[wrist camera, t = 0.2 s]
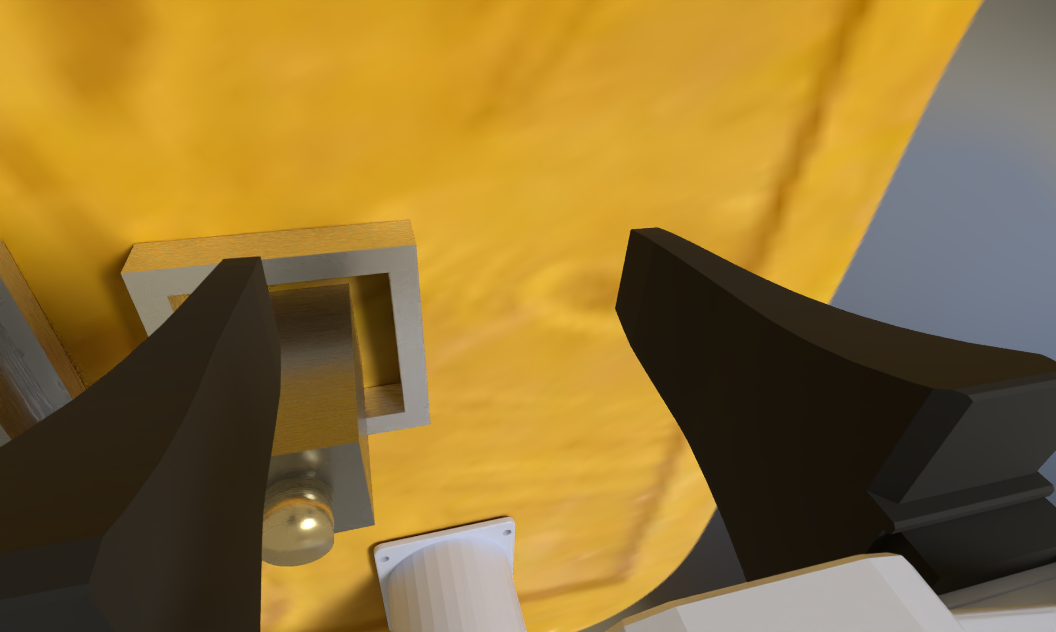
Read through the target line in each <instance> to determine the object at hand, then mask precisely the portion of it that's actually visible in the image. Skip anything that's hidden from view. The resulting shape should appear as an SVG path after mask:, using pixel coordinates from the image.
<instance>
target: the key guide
mask: <svg viewBox="0 0 1056 632" xmlns="http://www.w3.org/2000/svg"><path fill="white" fill-rule="evenodd" d="M85 390H86V388H85V386H84V385H83V383H82V381H81V379H80V378H79V376H78V374H77V372H76V370H75V369H74V367H73V365H72V363H71V362H70V360H69V358H68V356H67V354H66V353H65V351H64V349H63V347H62V346H61V344H60V342H59V340H58V338H57V337H56V335H55V333H54V331H53V329H52V328H51V326H50V324H49V322H48V321H47V319H46V317H45V315H44V313H43V312H42V310H41V308H40V306H39V305H38V303H37V301H36V299H35V297H34V296H33V294H32V292H31V290H30V289H29V287H28V285H27V283H26V281H25V280H24V278H23V276H22V274H21V273H20V271H19V269H18V267H17V265H16V264H15V262H14V260H13V258H12V257H11V255H10V253H9V251H8V249H7V248H6V246H5V244H4V242H3V241H0V447H1V446H3V445H4V444H6V443H7V442H9V441H11V440H12V439H14V438H15V437H17V436H18V435H20V434H21V433H23V432H24V431H26V430H27V429H29V428H31V427H32V426H34V425H35V424H37V423H38V422H40V421H41V420H43V419H44V418H46V417H47V416H49V415H50V414H52V413H54V412H55V411H57V410H58V409H60V408H61V407H63V406H64V405H66V404H67V403H68V402H70V401H71V400H73V399H74V398H76V397H77V396H78V395H80V394H81V393H82V392H83V391H85Z"/></svg>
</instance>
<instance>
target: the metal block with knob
mask: <svg viewBox="0 0 1056 632" xmlns="http://www.w3.org/2000/svg"><path fill="white" fill-rule="evenodd" d="M269 295H270V300H271V304H272V309H273V313H274V317H275V322H276V326H277V330H278V335H279V339H280V344H281V391H280V399H279V406H278V413H277V420H276V427H275V433H274V440H273V447H272V453H271V460H270V467H269V473H268V480H267V487H266V493H265V503H264V513H263V535H262V560H263V561H265V562H267V563H269V564H272V565H277V566H298V565H303V564H307V563H310V562H313V561H315V560H318V559H319V558H321V557H323V556H324V555H325V554H327V553H328V552H329V551H330V549H331V548H332V546H333V543H334V533H338V532H343V531H348V530H353V529H358V528H362V527H367V526H372V525H375V521H374V508H373V496H372V484H371V471H370V459H369V446H368V434H367V421H366V409H365V396H364V384H363V372H362V361H361V355H360V349H359V343H358V336H357V330H356V324H355V318H354V312H353V306H352V300H351V294H350V288H349V284H340V285H331V286H322V287H313V288H304V289H294V290H285V291H276V292H269Z"/></svg>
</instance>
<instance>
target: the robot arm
mask: <svg viewBox="0 0 1056 632" xmlns="http://www.w3.org/2000/svg"><path fill="white" fill-rule="evenodd" d="M615 310H616V312H617V315H618V317H619V320H620V322H621V325H622V327H623V330H624V332H625V334H626V337H627V339H628V341H629V343H630V346H631V348H632V349H633V351H634V353H635V355H636V356H637V358H638V360H639V361H640V363H641V365H642V366H643V368H644V369H645V371H646V373H647V374H648V376H649V378H650V379H651V381H652V383H653V384H654V386H655V387H656V389H657V391H658V392H659V394H660V396H661V397H662V399H663V400H664V402H665V404H666V405H667V407H668V408H669V410H670V412H671V413H672V415H673V417H674V418H675V420H676V421H677V423H678V425H679V426H680V428H681V430H682V432H683V434H684V435H685V437H686V439H687V441H688V443H689V445H690V447H691V449H692V451H693V453H694V455H695V458H696V460H697V462H698V464H699V466H700V468H701V470H702V473H703V475H704V477H705V479H706V481H707V483H708V486H709V488H710V490H711V493H712V495H713V497H714V500H715V502H716V504H717V507H718V509H719V511H720V514H721V516H722V518H723V521H724V523H725V526H726V528H727V531H728V533H729V536H730V539H731V541H732V544H733V546H734V549H735V552H736V554H737V557H738V559H739V562H740V564H741V567H742V569H743V572H744V575H745V578H746V581H747V583H743V584H739V585H735V586H731V587H727V588H723V589H719V590H715V591H711V592H707V593H703V594H699V595H695V596H691V597H687V598H683V599H679V600H675V601H671V602H667V603H665V604H662V605H660V606H657V607H654V608H652V609H649V610H646V611H644V612H641V613H638V614H636V615H633V616H630V617H628V618H625V619H623V620H621V621H620V622H618V623H617V624H615V625H614V626H612V627H611V628H609V629H608V630H606V631H605V632H1056V507H1055V506H1054V505H1053V504H1052V503H1050V502H1049V501H1048V500H1047V499H1046V498H1045V497H1047V496H1050V495H1051V494H1052V493H1053V492H1054V487H1053V485H1052V484H1051V483H1050V482H1049V481H1048V480H1047V479H1045V478H1044V477H1043V476H1042V475H1041V474H1040V473H1039V472H1037V471H1038V469H1039V468H1040V467H1041V466H1042V465H1043V464H1044V463H1045V462H1046V461H1047V459H1048V458H1049V457H1050V456H1051V455H1052V454H1053V453H1054V452H1055V451H1056V361H1054V360H1052V359H1050V358H1048V357H1046V356H1043V355H1041V354H1036V353H1029V352H1023V351H1017V350H1010V349H1004V348H998V347H992V346H986V345H980V344H973V343H967V342H963V341H958V340H953V339H949V338H944V337H940V336H935V335H930V334H926V333H922V332H917V331H913V330H909V329H905V328H901V327H897V326H894V325H890V324H887V323H883V322H880V321H877V320H873V319H869V318H866V317H862V316H859V315H856V314H853V313H850V312H847V311H844V310H841V309H838V308H835V307H833V306H830V305H827V304H825V303H822V302H819V301H816V300H814V299H811V298H808V297H806V296H803V295H801V294H798V293H796V292H793V291H791V290H789V289H786V288H784V287H782V286H780V285H777V284H775V283H773V282H771V281H769V280H766V279H764V278H762V277H760V276H758V275H756V274H753V273H751V272H749V271H747V270H745V269H743V268H741V267H739V266H737V265H735V264H733V263H731V262H729V261H727V260H725V259H723V258H721V257H719V256H717V255H715V254H713V253H711V252H709V251H708V250H706V249H704V248H702V247H700V246H698V245H696V244H694V243H692V242H690V241H688V240H686V239H684V238H682V237H679V236H677V235H675V234H673V233H671V232H668V231H666V230H663V229H660V228H643V229H631V231H630V236H629V241H628V246H627V251H626V256H625V262H624V267H623V272H622V277H621V282H620V287H619V292H618V297H617V302H616V307H615ZM280 391H281V344H280V339H279V335H278V330H277V326H276V322H275V317H274V313H273V309H272V304H271V300H270V295H269V291H268V287H267V282H266V278H265V274H264V269H263V265H262V260H261V256H255V257H241V258H228V259H223V260H222V261H221V262H220V263H219V264H218V265H217V266H216V267H215V268H214V269H213V270H212V271H211V273H210V274H209V275H208V276H207V277H206V278H205V279H204V280H203V281H202V282H201V284H200V285H199V286H198V287H197V288H196V289H195V290H194V291H193V292H192V293H191V295H190V296H189V297H188V298H187V299H186V300H185V301H184V302H183V303H182V304H181V305H180V306H179V307H178V308H177V309H176V310H175V312H174V313H173V314H172V315H171V316H170V317H169V318H168V319H167V320H166V321H165V322H164V323H163V324H162V325H161V326H160V327H159V328H158V329H157V330H155V331H154V332H153V333H152V334H151V335H150V336H149V337H148V338H147V339H146V340H145V341H144V342H143V343H141V344H140V345H139V346H138V347H137V348H136V349H135V350H134V351H133V352H132V353H131V354H130V355H129V356H127V357H126V358H125V359H124V360H123V361H122V362H120V363H119V364H118V365H117V366H116V367H114V368H113V369H112V370H111V371H109V372H108V373H107V374H106V375H105V376H103V377H102V378H101V379H99V380H98V381H97V382H95V383H94V384H93V385H91V386H90V387H89V388H87V389H86V390H85V391H83V392H82V393H81V394H80V395H78V396H77V397H76V398H74V399H73V400H71V401H70V402H68V403H67V404H66V405H64V406H63V407H61V408H60V409H58V410H57V411H55V412H54V413H52V414H50V415H49V416H47V417H46V418H44V419H43V420H41V421H40V422H38V423H37V424H35V425H34V426H32V427H31V428H29V429H27V430H26V431H24V432H23V433H21V434H20V435H18V436H17V437H15V438H14V439H12V440H11V441H9V442H7V443H6V444H4V445H3V446H1V447H0V632H260V614H261V565H262V535H263V513H264V503H265V493H266V487H267V480H268V473H269V467H270V460H271V453H272V447H273V440H274V433H275V427H276V420H277V413H278V406H279V399H280ZM514 540H515V522H514V519H513V518H511V517H504V518H500V519H495V520H490V521H485V522H481V523H476V524H471V525H467V526H462V527H457V528H452V529H448V530H443V531H438V532H433V533H429V534H424V535H419V536H415V537H410V538H405V539H400V540H396V541H391V542H386V543H382V544H379V545H377V546H376V547H375V548H374V558H375V563H376V568H377V573H378V578H379V583H380V588H381V592H382V597H383V602H384V607H385V612H386V617H387V622H388V627H389V630H390V631H392V632H527V630H526V626H525V622H524V619H523V615H522V611H521V607H520V604H519V600H518V596H517V592H516V588H515V585H514V581H513V577H512V576H513V558H514Z"/></svg>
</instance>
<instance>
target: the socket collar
mask: <svg viewBox="0 0 1056 632" xmlns="http://www.w3.org/2000/svg"><path fill="white" fill-rule="evenodd" d="M255 256H261V260H262V265H263V269H264V274H265V278H266V282H267V285H275V284H285V283H294V282H303V281H313V280H322V279H331V278H341V277H350V276H360V275H369V274H378V273H388V277H389V285H390V294H391V303H392V311H393V320H394V328H395V337H396V346H397V354H398V363H399V372H400V380H401V383H397V384H390V385H384V386H377V387H371V388H364V396H365V409H366V421H367V434H368V435H370V434H376V433H382V432H388V431H394V430H400V429H406V428H412V427H417V426H423V425H429V424H430V414H429V401H428V388H427V376H426V363H425V351H424V338H423V325H422V313H421V300H420V287H419V275H418V262H417V250H416V242H415V238H414V234H413V230H412V226H411V221H410V220H403V221H392V222H380V223H369V224H357V225H346V226H334V227H323V228H311V229H300V230H288V231H277V232H265V233H254V234H242V235H231V236H219V237H208V238H196V239H185V240H173V241H162V242H150V243H139V244H134V246H133V248H132V250H131V252H130V254H129V257H128V259H127V261H126V263H125V265H124V267H123V269H122V271H121V275H122V278H123V280H124V282H125V285H126V287H127V289H128V291H129V294H130V296H131V298H132V300H133V303H134V305H135V307H136V309H137V312H138V314H139V316H140V319H141V321H142V323H143V325H144V328H145V330H146V332H147V334H148V337H149V336H150V335H151V334H152V333H153V332H154V331H155V330H157V329H158V328H159V327H160V326H161V325H162V324H163V323H164V322H165V321H166V320H167V319H168V318H169V317H170V316H171V315H172V314H173V313H174V312H175V310H176V309H177V308H178V307H179V306H180V305H181V304H182V303H183V302H184V301H185V300H186V299H187V298H188V297H189V296H188V294H191V293H192V292H193V291H194V290H195V289H196V288H197V287H198V286H199V285H200V284H201V282H202V281H203V280H204V279H205V278H206V277H207V276H208V275H209V274H210V273H211V271H212V270H213V269H214V268H215V267H216V266H217V265H218V264H219V263H220V262H221V261H222V260H223V259H228V258H241V257H255Z"/></svg>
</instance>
